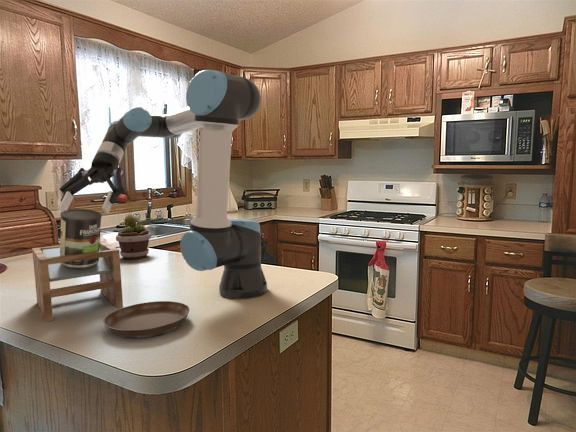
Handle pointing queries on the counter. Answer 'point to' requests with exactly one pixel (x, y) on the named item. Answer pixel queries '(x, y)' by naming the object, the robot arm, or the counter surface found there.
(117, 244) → the crystal
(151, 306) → the plant saucer
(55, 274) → the lid
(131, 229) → the flowerpot
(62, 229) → the coffee can
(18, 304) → the counter surface
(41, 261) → the wooden stand
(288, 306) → the counter surface
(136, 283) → the counter surface
